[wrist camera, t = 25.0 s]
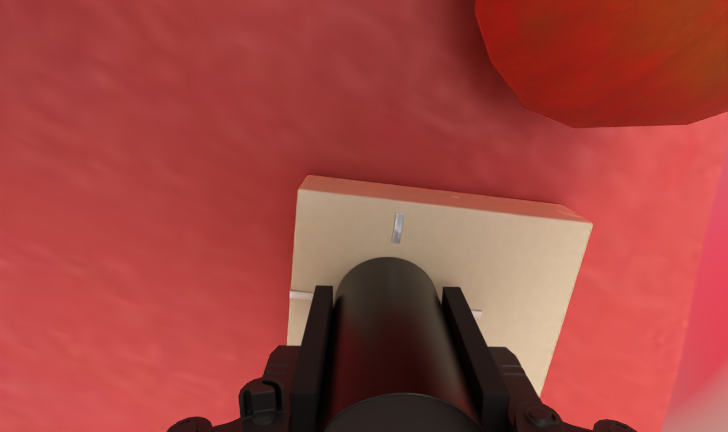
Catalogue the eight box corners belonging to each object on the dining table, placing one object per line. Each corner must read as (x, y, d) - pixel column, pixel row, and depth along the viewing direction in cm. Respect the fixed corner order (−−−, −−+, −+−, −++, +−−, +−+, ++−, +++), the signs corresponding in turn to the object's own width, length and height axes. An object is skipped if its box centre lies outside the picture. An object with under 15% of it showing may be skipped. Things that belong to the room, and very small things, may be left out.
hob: (307, 174, 20) (296, 189, 17) (562, 204, 21) (596, 224, 18) (287, 427, 25) (276, 473, 22) (494, 447, 25) (511, 496, 22)
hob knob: (313, 302, 19) (271, 474, 11) (389, 235, 18) (409, 367, 10) (383, 364, 20) (395, 566, 12) (458, 305, 19) (532, 480, 11)
